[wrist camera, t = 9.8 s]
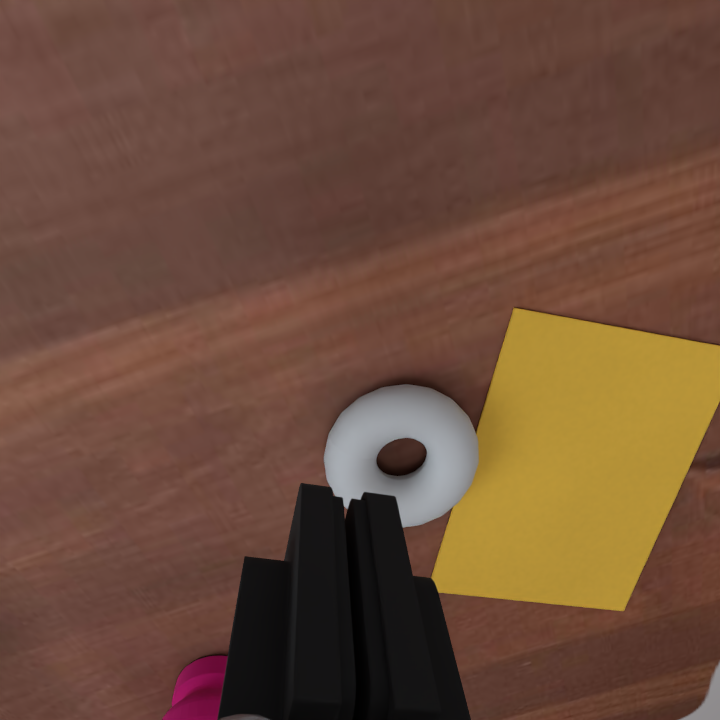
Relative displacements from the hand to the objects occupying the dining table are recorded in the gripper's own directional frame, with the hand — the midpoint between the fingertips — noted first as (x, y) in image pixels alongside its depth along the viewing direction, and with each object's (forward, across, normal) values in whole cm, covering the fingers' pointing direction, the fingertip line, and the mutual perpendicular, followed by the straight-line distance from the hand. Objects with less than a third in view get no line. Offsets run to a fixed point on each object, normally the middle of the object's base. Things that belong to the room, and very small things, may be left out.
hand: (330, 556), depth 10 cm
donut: (+25, -7, +12) cm, 28 cm away
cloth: (+25, -20, +12) cm, 34 cm away
